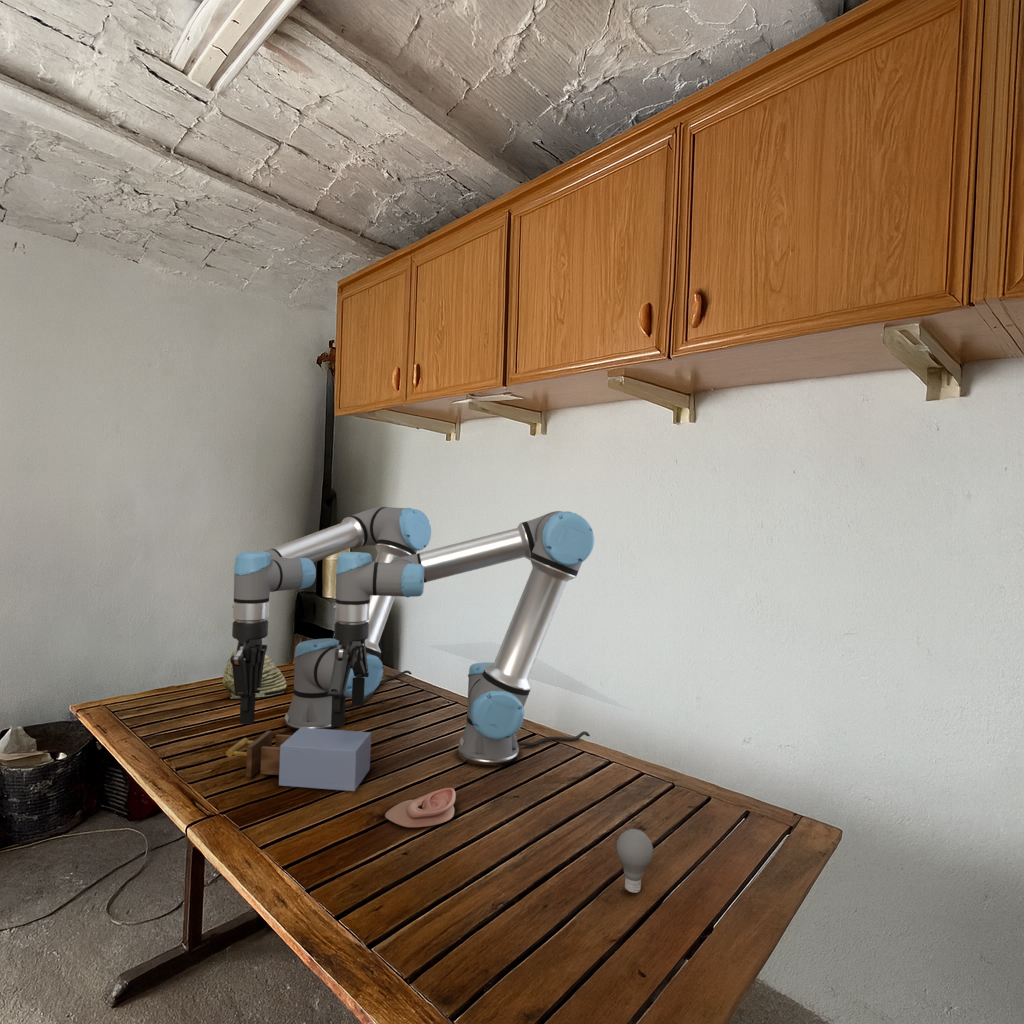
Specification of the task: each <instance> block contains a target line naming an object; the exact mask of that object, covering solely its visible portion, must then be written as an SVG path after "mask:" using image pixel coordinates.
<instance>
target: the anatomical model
mask: <svg viewBox="0 0 1024 1024" xmlns="http://www.w3.org/2000/svg"><path fill="white" fill-rule="evenodd" d="M456 797H457V795H456V791H455V788H452V787H445V788H441V789H437V790H435V791H431V792H429V793H427V794H424V795H422V796H419V797H417V798H414V799H408V800H405V801H401V802H399V803H398V804H396V805H394V806H392V807H391V808H390V809H388V810H387V811H386V812H385V814H384V817H385V818H386V819H387V820H388V821H390V822H392V823H394V824H395V825H397V826H401V827H404V828H423V827H425V828H426V827H431V826H436V825H441V824H443V823H445V822H448V821H450V820H452V818H453V817H454V815H455V807H454V805H455V803H456V799H457V798H456Z"/></svg>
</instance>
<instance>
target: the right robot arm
mask: <svg viewBox="0 0 1024 1024" xmlns="http://www.w3.org/2000/svg"><path fill="white" fill-rule="evenodd" d="M594 545H595V534H594V531H593V528H592V526H591V524H590V523H589V521H587V520H586V518H584V517H583V516H581V515H580V514H578V513H576V512H572V511H567V510H566V511H563V510H561V511H560V510H555V511H550V512H548V513H545V514H543V515H540V516H539V517H536V518H533V519H530V520H527V521H523V522H520V523H519V524H518V525H517V527H515V528H511V529H507V530H504V531H503V530H502V531H499V532H496V533H491V534H487V535H484V536H480V537H476V538H471V539H468V540H465V541H461V542H456V543H453V544H448V545H445V546H442V547H438V548H433V549H429V550H425V551H421V552H419V553H416V554H413V555H409V556H400V557H397V558H395V559H394V560H392V561H391V562H390V563H379V562H375V561H373V559H372V558H373V557H372V554H371V553H369V552H362V551H346V552H341V553H340V554H339V555H338V556H337V561H336V562H337V564H336V572H335V602H334V603H335V605H333V607H332V608H333V610H334V620H335V623H334V624H333V625H334V627H333V639H336V640H338V641H341V642H342V644H341V648H340V649H336V650H335V661H334V666H333V671H332V676H331V682H330V687H329V692H328V696H331V697H332V714H331V726H337V727H336V728H338V727H340V728H344V727H345V726H346V725H345V723H346V708H345V705H346V703H347V702H346V698H347V697H346V696H344V693H345V689H346V685H347V681H348V677H349V673H350V669H351V668H352V670H353V673H354V676H355V677H353V682H352V698H351V703H352V706H351V707H364V706H365V702H364V699H365V697H364V687H365V678H364V677H368V676H369V673H367V672H368V664H367V656H366V648H365V640H366V639H367V638H368V634H369V623H368V622H367V621H368V620H369V613H370V595H374V596H377V595H378V596H395V597H404V598H411V597H412V598H413V597H417V598H418V597H421V596H423V594H424V590H425V589H424V587H425V583H429V582H433V581H436V580H440V579H445V578H448V577H452V576H455V575H461V574H464V573H467V572H472V571H476V570H480V569H484V568H487V567H492V566H496V565H499V564H503V563H507V562H511V561H515V560H520V559H523V558H525V559H527V560H528V561H530V563H531V566H532V567H531V570H530V573H529V576H528V578H527V581H526V582H525V585H524V587H523V590H522V592H521V595H520V598H519V599H518V603H517V605H516V607H515V610H514V612H513V614H512V618H511V620H510V622H509V625H508V627H507V630H506V633H505V635H504V637H503V640H502V643H501V645H500V647H499V649H498V651H497V654H496V656H495V660H494V662H493V661H492V662H491V661H490V662H476V663H472V664H471V665H470V666H469V668H468V674H467V677H468V685H467V706H466V708H467V709H466V724H465V726H464V729H463V733H462V735H461V737H460V739H459V743H458V746H457V747H458V748H457V755H458V757H459V759H461V761H463V762H464V763H467V764H470V765H473V766H478V767H483V768H484V767H485V768H486V767H487V768H495V767H504V766H507V765H511V764H512V763H514V762H517V760H518V758H519V755H520V747H519V746H523V747H534V746H537V745H540V744H542V743H544V742H547V741H562V742H563V741H565V742H573V741H577V740H580V739H581V738H582V737H583V736H586V737H591V735H590V733H589V732H587V731H585V730H584V731H581V732H580V733H579V734H577V735H576V736H570V737H567V736H545V737H543V738H540V739H538V740H536V741H532V742H527V741H518V739H517V736H516V733H518V732H519V730H520V729H521V727H522V725H523V722H524V717H525V705H526V703H527V699H528V697H529V694H530V693H531V690H532V685H531V681H530V679H529V677H530V674H531V672H532V669H533V667H534V665H535V662H536V660H537V658H538V655H539V652H540V650H541V648H542V644H543V643H544V640H545V637H546V635H547V633H548V630H549V627H550V625H551V623H552V620H553V617H554V615H555V613H556V611H557V608H558V605H559V603H560V600H561V597H562V596H563V593H564V590H565V588H566V586H567V583H568V582H569V581H571V580H573V579H575V578H577V576H578V573H579V572H580V569H581V567H582V563H584V562H585V561H586V560H587V559H588V558H589V557H590V555H591V553H592V551H593V549H594ZM336 690H338V691H336ZM571 737H572V738H571Z"/></svg>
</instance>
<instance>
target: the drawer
mask: <svg viewBox="0 0 1024 1024" xmlns="http://www.w3.org/2000/svg"><path fill="white" fill-rule="evenodd" d="M292 735H293V734H278V733H277V734H275V741H274V742H275V745H274V746H273V730H266V731H265V732H264V733H262V734H261V735H260V736H258V737H257V738H256V739H254V740H249V738H248V737H243V738H241V740H239V741H238V742H236V743H235V744H234V745H233V746H231V747H230V748H228V750H226V751H225V755H226V757H228V758H231V757H233V756H243V757H244V756H245V758H246V759H245V778H252V777H253V776H254V775H255V774H256V773H258V772H259V771H260V772H259V773H260V775H271V776H279V768H280V745H282V744H283V743H284V742H285V741H286V740H287V739H288V738H290V737H291V736H292ZM245 747H246V751H241V750H242V749H243V748H245Z"/></svg>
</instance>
